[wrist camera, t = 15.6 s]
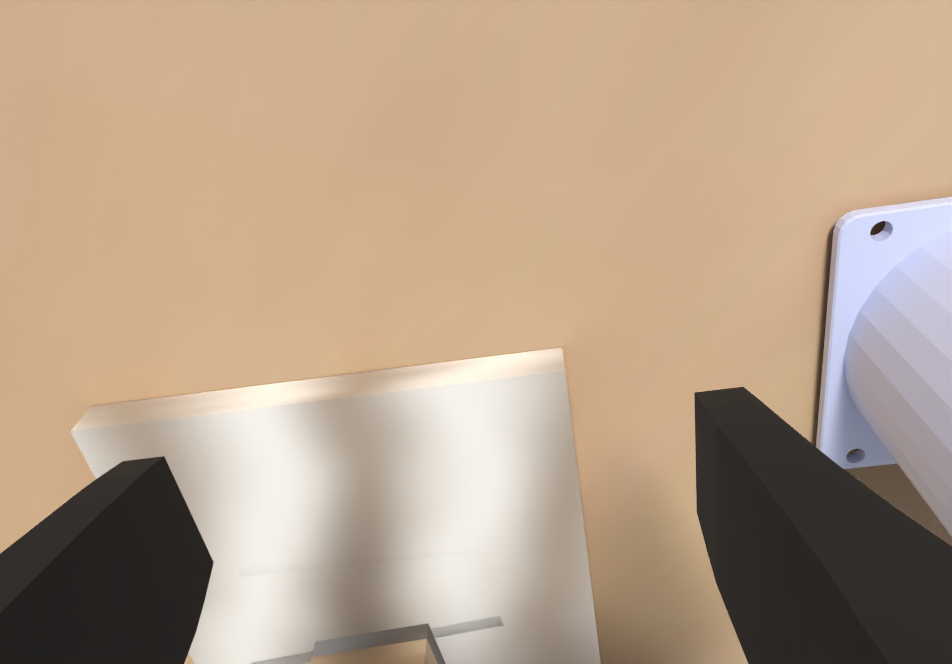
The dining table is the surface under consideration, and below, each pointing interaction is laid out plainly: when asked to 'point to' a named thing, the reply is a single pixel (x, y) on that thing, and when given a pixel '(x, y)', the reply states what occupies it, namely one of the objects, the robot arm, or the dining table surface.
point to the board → (378, 508)
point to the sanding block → (381, 648)
